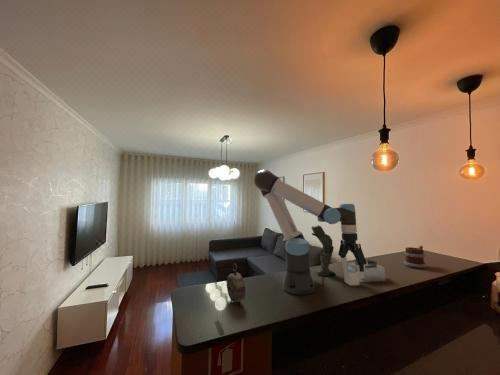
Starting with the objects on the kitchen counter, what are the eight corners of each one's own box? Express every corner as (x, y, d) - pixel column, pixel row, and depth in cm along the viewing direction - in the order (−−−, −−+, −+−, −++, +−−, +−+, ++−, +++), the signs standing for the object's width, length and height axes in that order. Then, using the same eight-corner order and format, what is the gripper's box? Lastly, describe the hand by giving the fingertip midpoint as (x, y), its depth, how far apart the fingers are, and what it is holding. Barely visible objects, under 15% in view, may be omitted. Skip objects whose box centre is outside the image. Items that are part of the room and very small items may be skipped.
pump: (350, 285, 105) (349, 266, 105) (344, 282, 109) (343, 264, 110) (359, 284, 105) (358, 266, 106) (353, 281, 110) (352, 263, 111)
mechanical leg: (339, 271, 125) (324, 222, 128) (343, 275, 118) (328, 223, 121) (316, 276, 126) (303, 228, 129) (319, 280, 119) (305, 229, 122)
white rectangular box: (361, 282, 109) (360, 263, 110) (348, 275, 120) (348, 258, 120) (388, 280, 111) (387, 262, 112) (373, 273, 122) (372, 257, 123)
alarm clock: (246, 307, 83) (246, 265, 85) (234, 310, 81) (233, 267, 82) (235, 296, 93) (235, 259, 94) (224, 299, 90) (224, 261, 92)
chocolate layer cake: (398, 265, 138) (399, 242, 140) (412, 266, 143) (412, 244, 145) (418, 270, 127) (419, 245, 129) (432, 271, 132) (432, 247, 134)
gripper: (372, 235, 98) (376, 281, 96) (342, 229, 123) (344, 266, 121) (358, 236, 97) (362, 282, 95) (330, 230, 122) (332, 267, 119)
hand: (352, 273), depth 108 cm, fingers open, 13 cm apart
